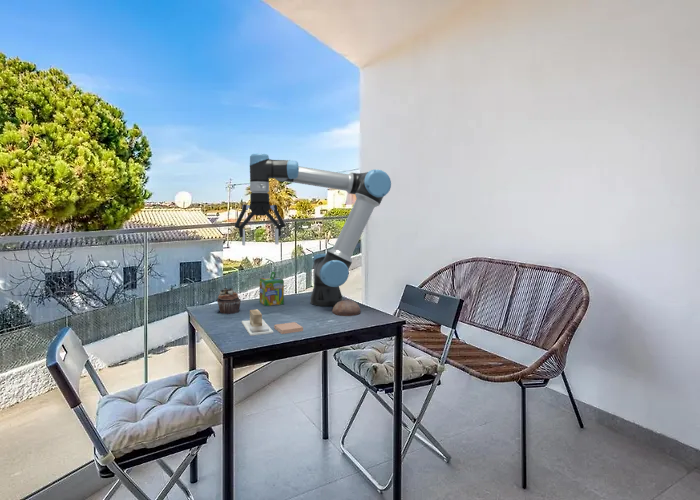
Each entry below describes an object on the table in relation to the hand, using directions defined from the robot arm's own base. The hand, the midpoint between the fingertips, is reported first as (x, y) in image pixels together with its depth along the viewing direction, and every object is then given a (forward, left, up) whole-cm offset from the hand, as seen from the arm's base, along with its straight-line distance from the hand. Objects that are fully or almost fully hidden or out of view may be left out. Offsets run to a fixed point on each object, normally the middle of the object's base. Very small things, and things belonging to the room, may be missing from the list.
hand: (260, 244), depth 167 cm
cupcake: (+12, -8, -29) cm, 32 cm away
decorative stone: (-33, +13, -29) cm, 46 cm away
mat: (+6, +20, -29) cm, 36 cm away
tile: (-4, +23, -28) cm, 37 cm away
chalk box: (-8, -16, -29) cm, 34 cm away
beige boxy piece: (+6, +22, -28) cm, 36 cm away
